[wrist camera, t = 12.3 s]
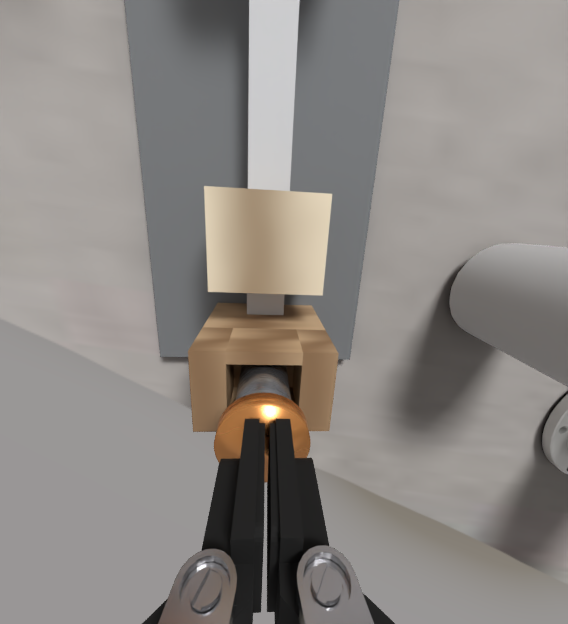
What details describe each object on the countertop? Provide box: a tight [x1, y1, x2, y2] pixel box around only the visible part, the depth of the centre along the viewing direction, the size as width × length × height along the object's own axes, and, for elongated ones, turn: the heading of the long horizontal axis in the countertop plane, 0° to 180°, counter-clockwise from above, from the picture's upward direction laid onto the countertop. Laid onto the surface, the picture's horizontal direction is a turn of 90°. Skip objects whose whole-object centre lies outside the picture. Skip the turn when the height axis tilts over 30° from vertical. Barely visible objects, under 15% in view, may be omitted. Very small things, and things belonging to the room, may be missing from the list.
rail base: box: [124, 0, 399, 360], centre depth 15 cm, size 15×28×7 cm, turn 177°
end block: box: [188, 303, 339, 432], centre depth 17 cm, size 7×4×8 cm, turn 87°
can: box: [449, 243, 568, 387], centre depth 16 cm, size 8×8×12 cm
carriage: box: [204, 186, 332, 296], centre depth 16 cm, size 6×5×5 cm
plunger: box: [214, 365, 310, 482], centre depth 13 cm, size 4×4×6 cm
